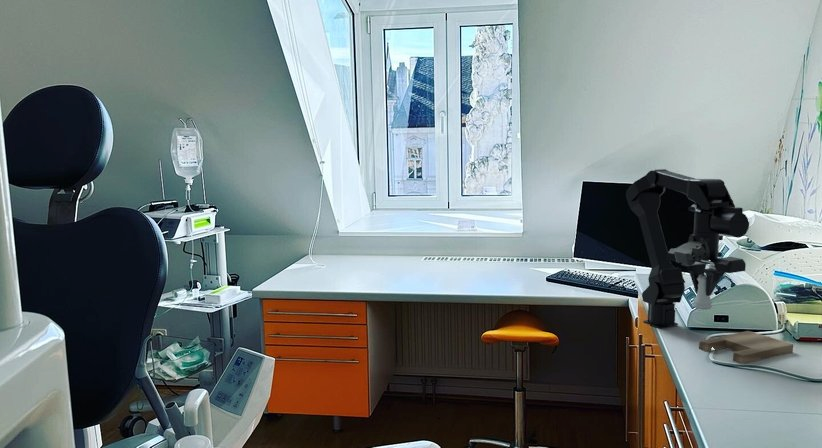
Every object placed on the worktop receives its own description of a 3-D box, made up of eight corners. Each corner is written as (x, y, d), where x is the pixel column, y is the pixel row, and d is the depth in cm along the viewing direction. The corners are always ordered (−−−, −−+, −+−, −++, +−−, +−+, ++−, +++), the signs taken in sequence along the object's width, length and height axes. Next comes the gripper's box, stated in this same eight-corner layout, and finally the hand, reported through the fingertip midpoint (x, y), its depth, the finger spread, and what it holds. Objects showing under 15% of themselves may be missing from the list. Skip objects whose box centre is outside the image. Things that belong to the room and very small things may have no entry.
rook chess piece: (707, 304, 171) (708, 273, 169) (715, 309, 166) (717, 277, 165) (689, 305, 170) (691, 273, 169) (697, 309, 166) (699, 277, 165)
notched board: (699, 348, 164) (699, 340, 164) (747, 338, 171) (748, 330, 171) (742, 364, 153) (742, 355, 153) (792, 352, 161) (793, 344, 160)
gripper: (652, 228, 170) (650, 289, 173) (714, 239, 154) (711, 307, 156) (685, 225, 175) (682, 284, 178) (749, 235, 159) (745, 301, 161)
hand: (703, 294), depth 168 cm, fingers closed on rook chess piece, 3 cm apart
